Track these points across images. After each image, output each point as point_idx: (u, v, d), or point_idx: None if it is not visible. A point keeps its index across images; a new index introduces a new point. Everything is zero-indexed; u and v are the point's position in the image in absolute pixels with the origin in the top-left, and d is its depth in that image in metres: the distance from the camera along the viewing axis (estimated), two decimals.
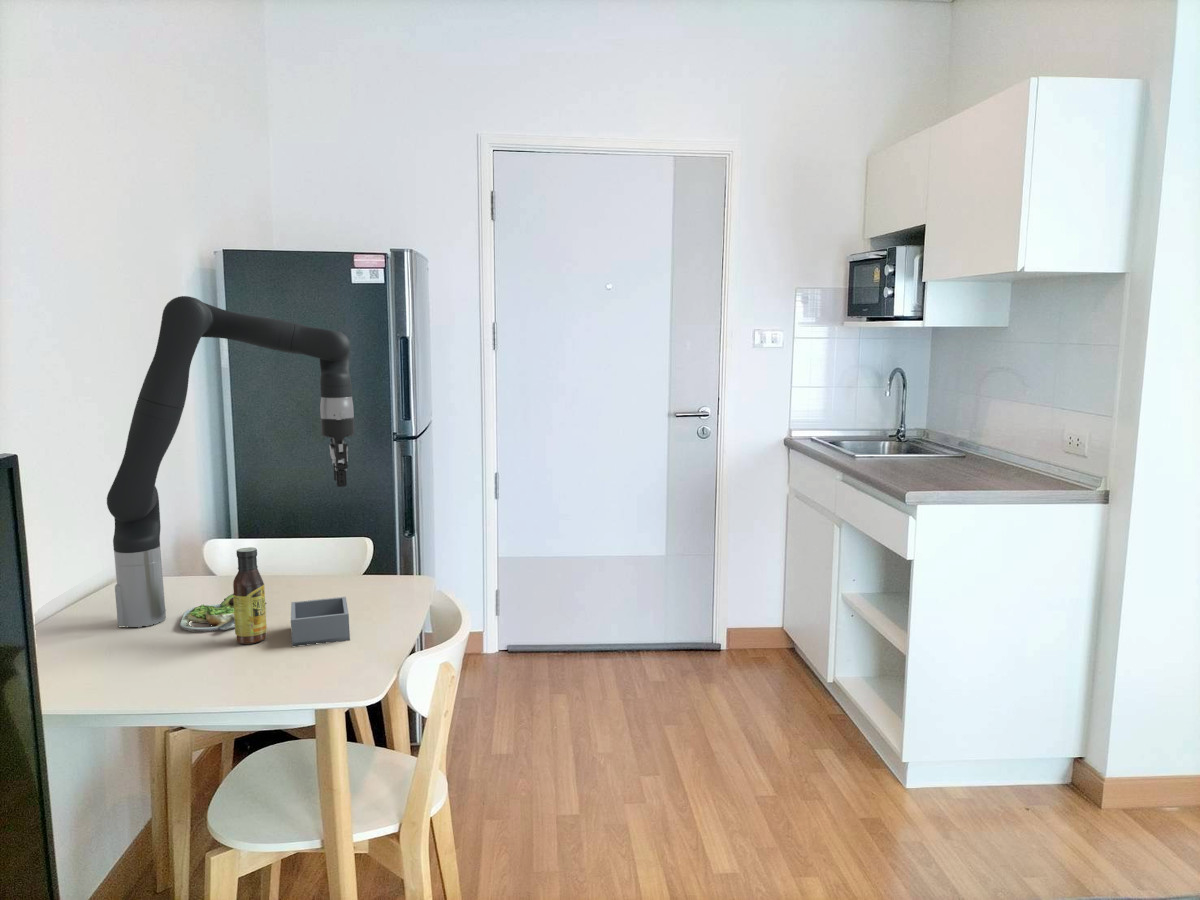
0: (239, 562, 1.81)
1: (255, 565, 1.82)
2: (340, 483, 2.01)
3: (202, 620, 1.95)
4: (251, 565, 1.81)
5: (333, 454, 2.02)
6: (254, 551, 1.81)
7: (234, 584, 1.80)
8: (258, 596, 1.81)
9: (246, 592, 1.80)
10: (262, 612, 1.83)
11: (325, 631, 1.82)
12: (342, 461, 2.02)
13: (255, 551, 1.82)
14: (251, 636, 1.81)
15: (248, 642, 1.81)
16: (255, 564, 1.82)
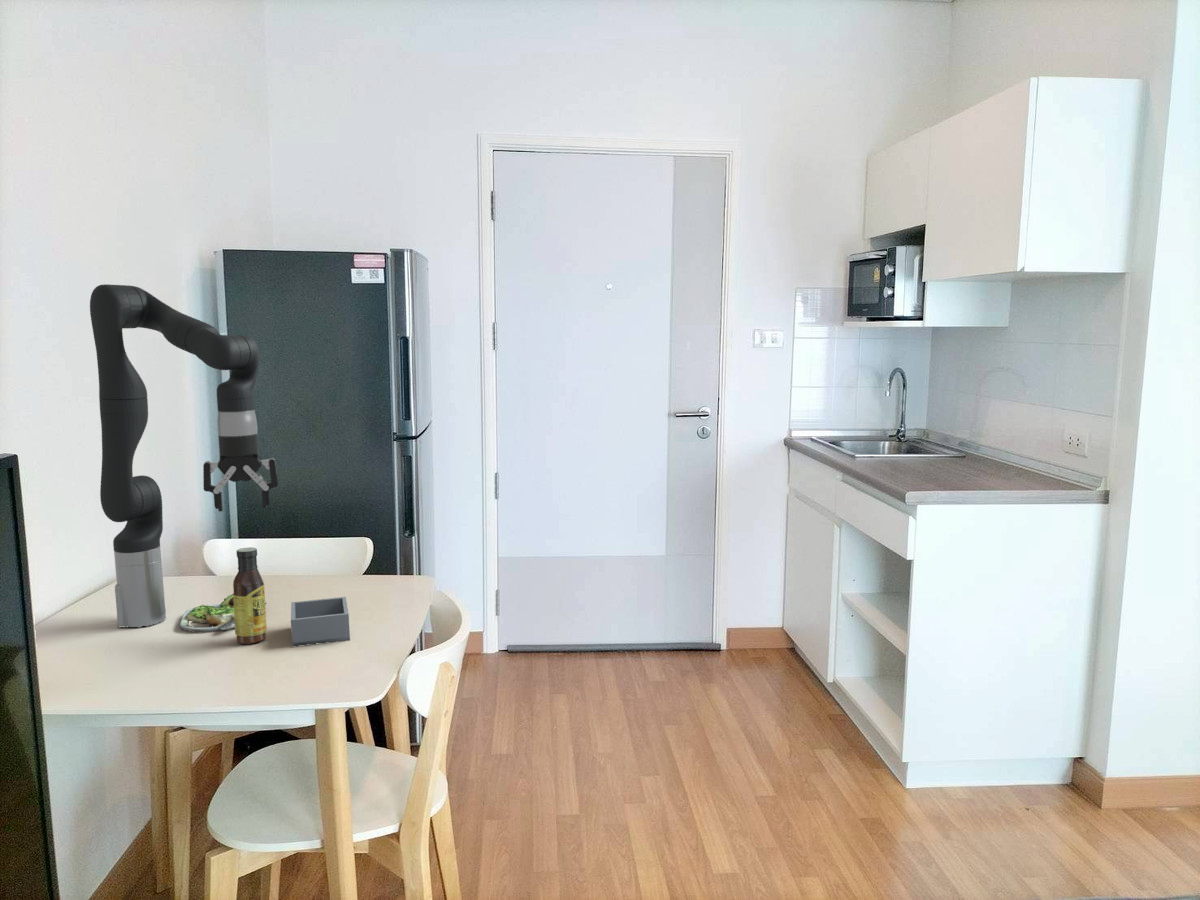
0: (239, 562, 1.81)
1: (255, 565, 1.82)
2: None
3: (202, 620, 1.95)
4: (251, 565, 1.81)
5: (256, 474, 1.79)
6: (254, 551, 1.81)
7: (234, 584, 1.80)
8: (258, 596, 1.81)
9: (246, 592, 1.80)
10: (262, 612, 1.83)
11: (325, 631, 1.82)
12: None
13: (255, 551, 1.82)
14: (251, 636, 1.81)
15: (248, 642, 1.81)
16: (255, 564, 1.82)
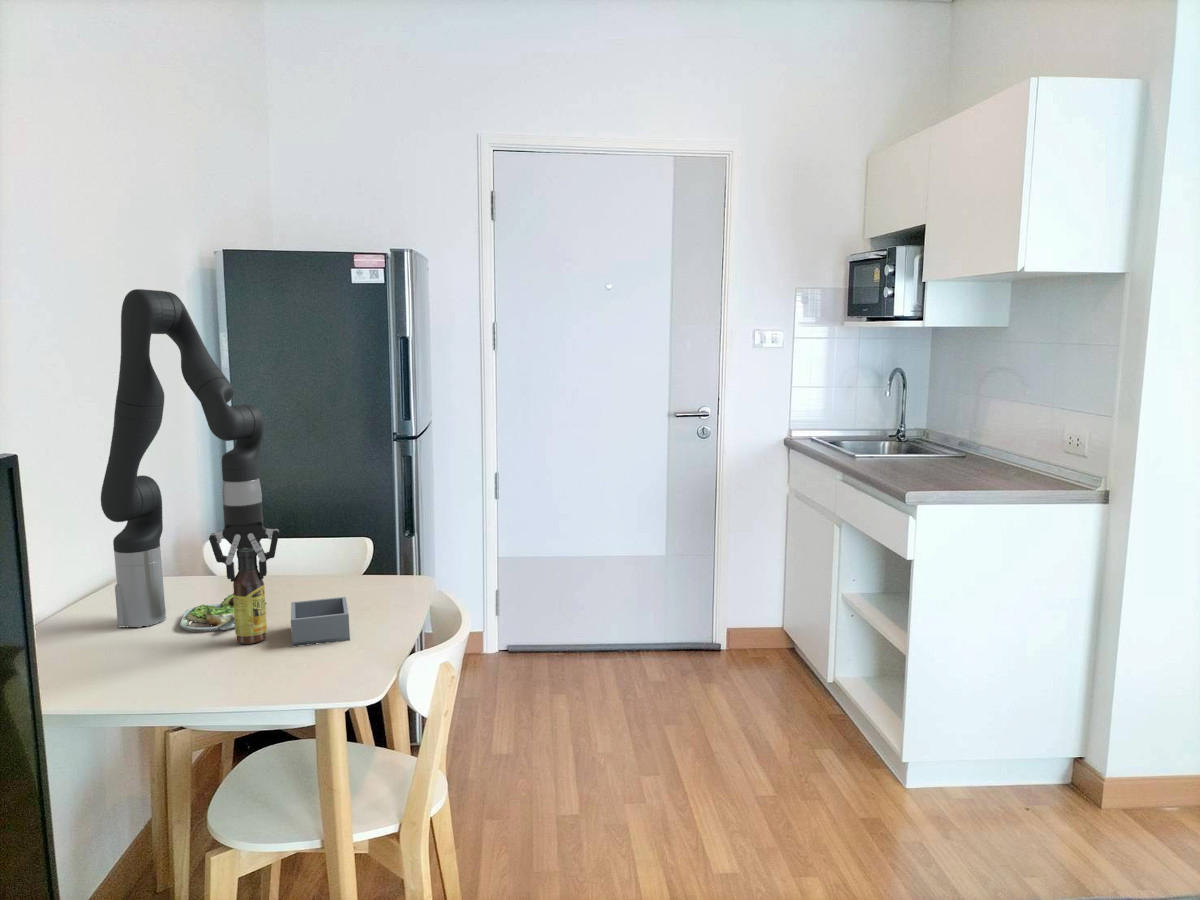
0: (239, 562, 1.81)
1: (255, 565, 1.82)
2: (266, 573, 1.83)
3: (202, 620, 1.95)
4: (251, 565, 1.81)
5: (258, 543, 1.81)
6: (254, 551, 1.81)
7: (235, 585, 1.80)
8: (258, 596, 1.81)
9: (246, 592, 1.80)
10: (263, 612, 1.83)
11: (325, 631, 1.82)
12: None
13: None
14: (251, 636, 1.81)
15: (248, 642, 1.81)
16: (255, 564, 1.82)
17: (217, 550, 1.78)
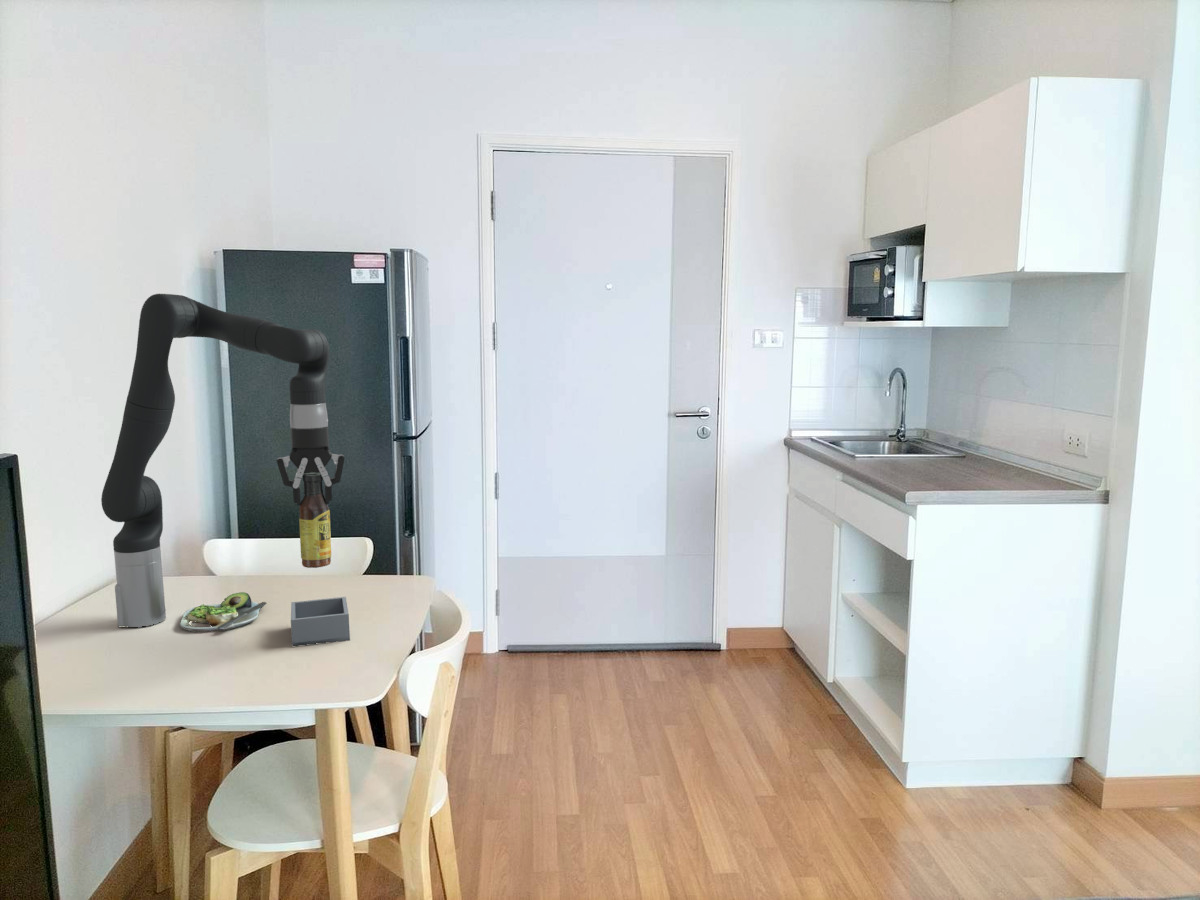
0: (305, 486, 1.82)
1: (321, 490, 1.83)
2: (331, 499, 1.84)
3: (202, 620, 1.95)
4: (317, 489, 1.82)
5: (324, 468, 1.82)
6: (320, 475, 1.83)
7: (301, 508, 1.82)
8: (324, 520, 1.83)
9: (313, 516, 1.81)
10: (328, 537, 1.84)
11: (325, 631, 1.82)
12: None
13: (321, 476, 1.83)
14: (317, 560, 1.82)
15: (314, 566, 1.82)
16: (321, 489, 1.83)
17: (284, 473, 1.80)
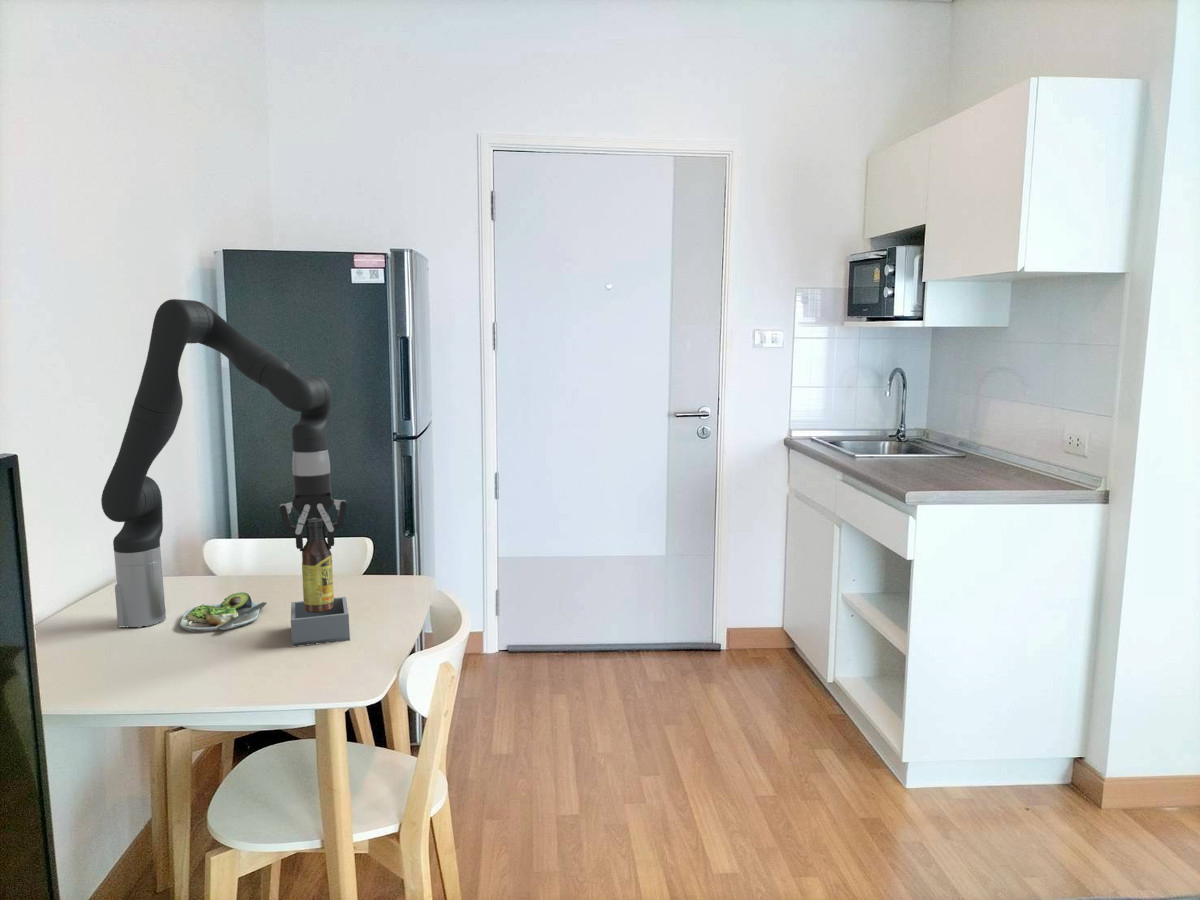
0: (308, 532, 1.84)
1: (323, 535, 1.85)
2: (333, 544, 1.86)
3: (202, 620, 1.95)
4: (320, 534, 1.84)
5: (327, 514, 1.84)
6: (322, 521, 1.84)
7: (304, 554, 1.83)
8: (326, 565, 1.84)
9: (315, 561, 1.83)
10: (330, 582, 1.85)
11: (325, 631, 1.82)
12: None
13: (323, 521, 1.85)
14: (320, 605, 1.84)
15: (317, 611, 1.84)
16: (323, 534, 1.85)
17: (287, 520, 1.81)
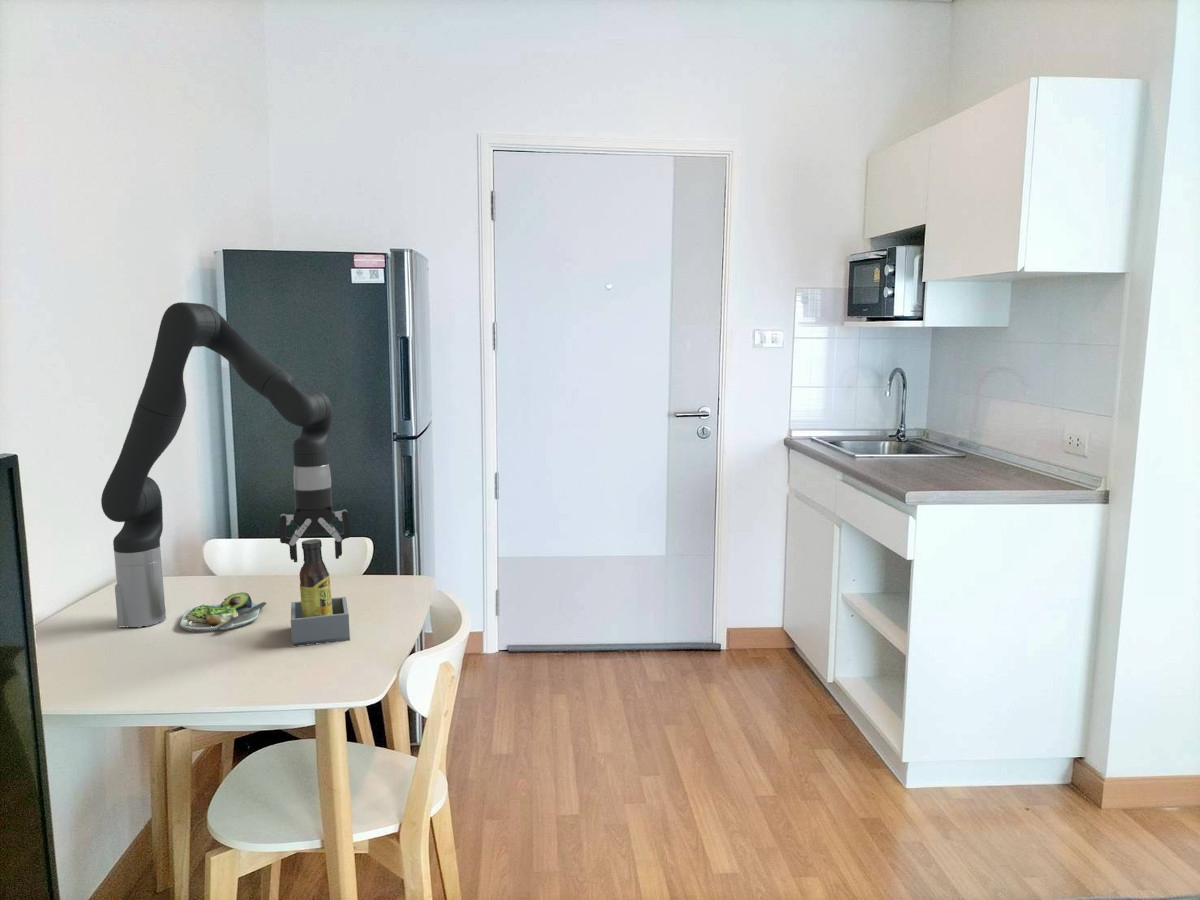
0: (305, 554, 1.84)
1: (320, 556, 1.85)
2: (341, 553, 1.87)
3: (202, 620, 1.95)
4: (316, 556, 1.84)
5: (330, 525, 1.84)
6: (319, 542, 1.84)
7: (301, 576, 1.84)
8: (324, 586, 1.84)
9: (313, 583, 1.83)
10: (329, 602, 1.86)
11: (325, 631, 1.82)
12: None
13: (320, 542, 1.85)
14: None
15: None
16: (320, 555, 1.85)
17: (284, 531, 1.81)
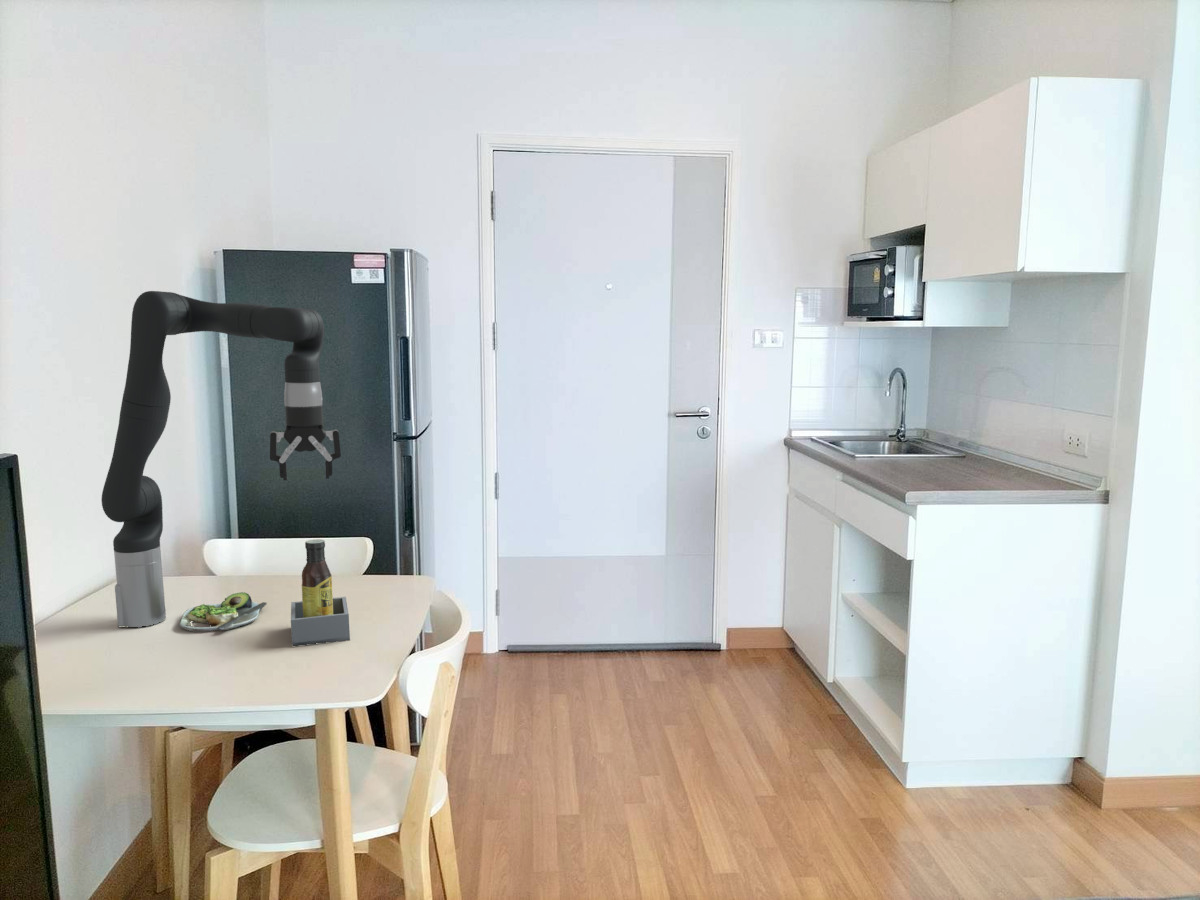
0: (308, 553, 1.84)
1: (323, 556, 1.85)
2: None
3: (202, 620, 1.95)
4: (319, 556, 1.84)
5: (320, 444, 1.83)
6: (322, 543, 1.85)
7: (303, 576, 1.84)
8: (326, 587, 1.85)
9: (315, 583, 1.83)
10: (330, 603, 1.86)
11: (325, 631, 1.82)
12: None
13: (323, 543, 1.85)
14: None
15: None
16: (323, 556, 1.85)
17: (274, 448, 1.80)
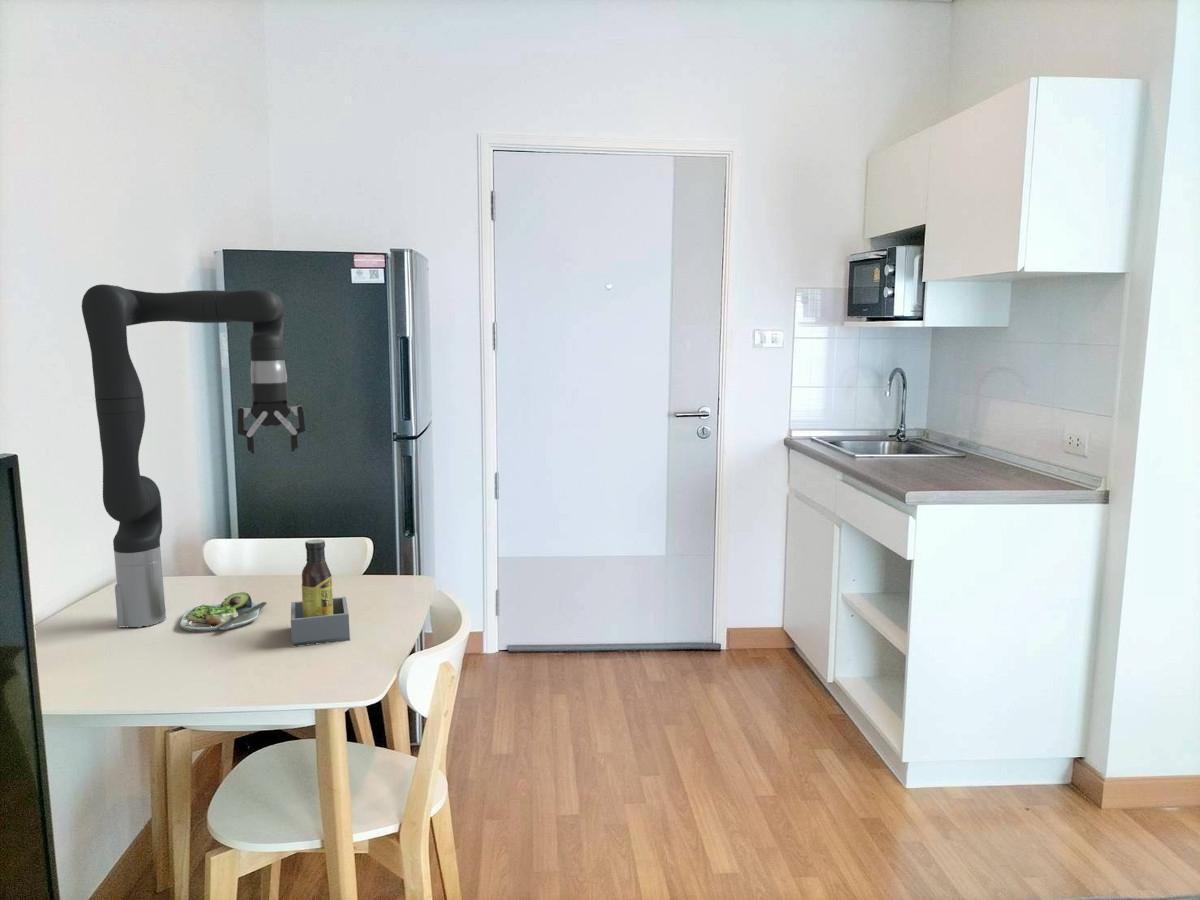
0: (308, 553, 1.84)
1: (323, 556, 1.85)
2: None
3: (202, 620, 1.95)
4: (319, 556, 1.84)
5: (286, 419, 1.94)
6: (322, 543, 1.85)
7: (303, 575, 1.84)
8: (326, 587, 1.85)
9: (315, 583, 1.83)
10: (330, 603, 1.86)
11: (325, 631, 1.82)
12: None
13: (323, 543, 1.85)
14: None
15: None
16: (323, 555, 1.85)
17: (241, 423, 1.92)
